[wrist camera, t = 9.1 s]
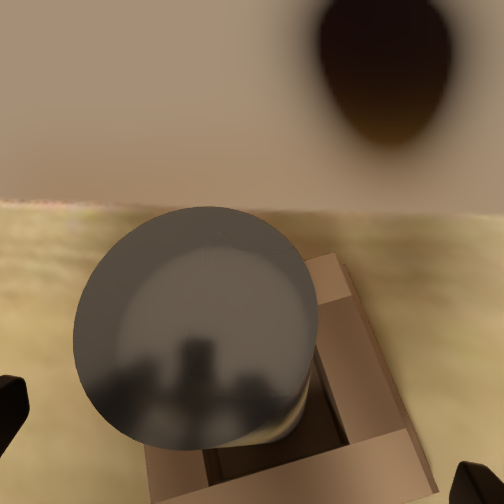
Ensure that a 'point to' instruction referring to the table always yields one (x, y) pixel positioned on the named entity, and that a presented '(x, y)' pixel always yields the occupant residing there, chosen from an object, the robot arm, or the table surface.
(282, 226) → the table surface
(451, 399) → the table surface
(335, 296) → the socket board
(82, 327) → the steel pin
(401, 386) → the table surface
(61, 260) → the table surface
